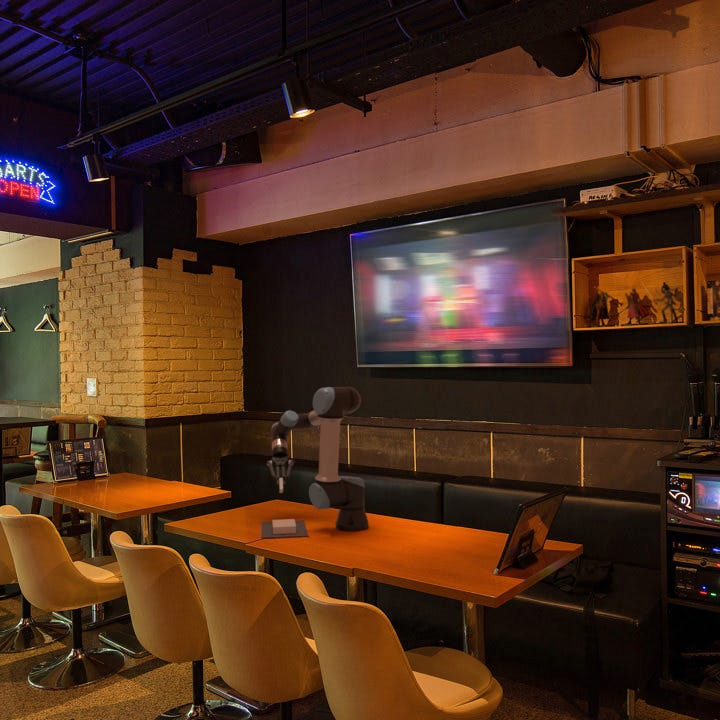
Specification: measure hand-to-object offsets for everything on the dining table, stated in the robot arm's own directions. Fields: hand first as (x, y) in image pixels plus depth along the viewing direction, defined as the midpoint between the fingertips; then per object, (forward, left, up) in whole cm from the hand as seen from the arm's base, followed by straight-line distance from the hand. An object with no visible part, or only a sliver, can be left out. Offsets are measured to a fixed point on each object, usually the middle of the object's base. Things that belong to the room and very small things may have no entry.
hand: (281, 491), depth 313 cm
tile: (-3, +1, -14) cm, 14 cm away
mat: (-6, +2, -17) cm, 18 cm away
